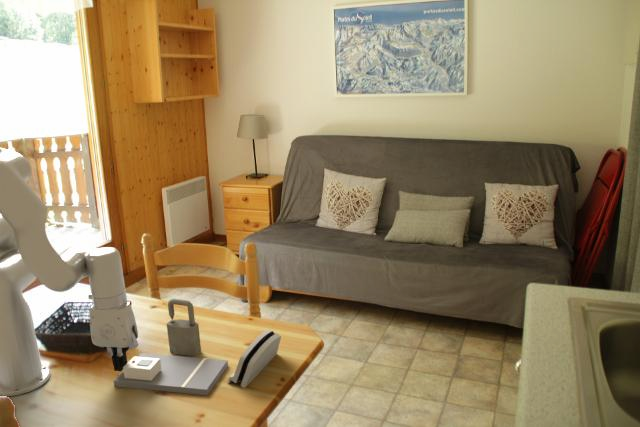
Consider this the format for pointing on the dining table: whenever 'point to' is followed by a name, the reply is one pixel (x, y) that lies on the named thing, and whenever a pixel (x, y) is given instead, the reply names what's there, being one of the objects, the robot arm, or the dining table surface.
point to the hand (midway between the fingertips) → (120, 368)
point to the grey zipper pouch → (256, 357)
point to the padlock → (183, 331)
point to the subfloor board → (179, 375)
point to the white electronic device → (142, 368)
